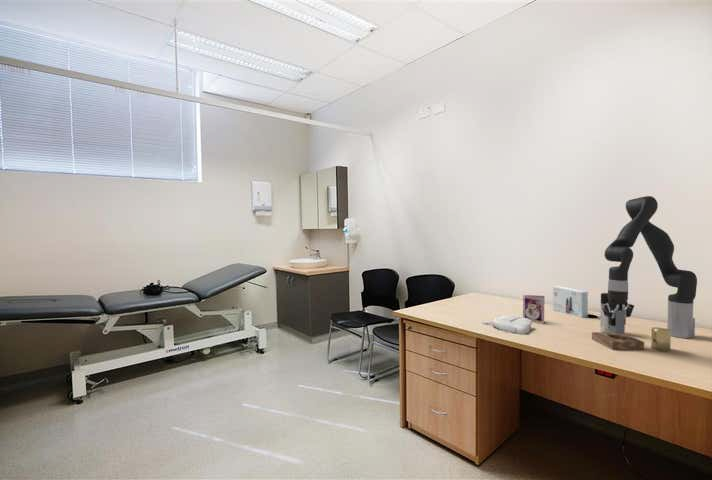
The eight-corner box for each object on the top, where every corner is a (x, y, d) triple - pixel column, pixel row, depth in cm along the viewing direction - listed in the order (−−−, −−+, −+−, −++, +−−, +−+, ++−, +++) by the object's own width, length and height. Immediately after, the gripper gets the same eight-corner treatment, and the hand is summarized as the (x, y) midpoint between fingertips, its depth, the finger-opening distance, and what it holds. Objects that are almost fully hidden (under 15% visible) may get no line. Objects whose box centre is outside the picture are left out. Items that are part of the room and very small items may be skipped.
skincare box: (551, 309, 226) (552, 286, 225) (558, 309, 227) (558, 285, 227) (581, 318, 206) (581, 291, 205) (588, 317, 207) (588, 291, 207)
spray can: (609, 334, 175) (610, 295, 174) (596, 330, 181) (597, 293, 180) (619, 333, 176) (620, 294, 176) (606, 329, 183) (607, 292, 182)
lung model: (527, 335, 174) (477, 331, 189) (533, 328, 188) (487, 324, 203) (526, 322, 174) (476, 319, 189) (532, 316, 188) (486, 313, 203)
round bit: (661, 346, 157) (662, 327, 156) (674, 351, 150) (675, 331, 150) (647, 346, 157) (647, 327, 157) (659, 351, 150) (659, 331, 150)
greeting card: (522, 320, 202) (522, 295, 201) (527, 318, 206) (527, 293, 206) (543, 324, 193) (543, 298, 192) (548, 321, 198) (548, 296, 197)
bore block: (621, 339, 167) (621, 332, 167) (644, 349, 153) (644, 342, 153) (591, 339, 167) (591, 332, 167) (612, 349, 153) (612, 341, 153)
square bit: (618, 331, 162) (618, 308, 161) (624, 333, 158) (625, 310, 157) (609, 331, 162) (610, 308, 162) (615, 333, 158) (616, 310, 158)
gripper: (627, 287, 163) (626, 323, 163) (596, 288, 163) (596, 323, 164) (639, 290, 155) (639, 328, 156) (607, 290, 156) (607, 328, 156)
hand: (617, 325), depth 160 cm, fingers closed on square bit, 4 cm apart
